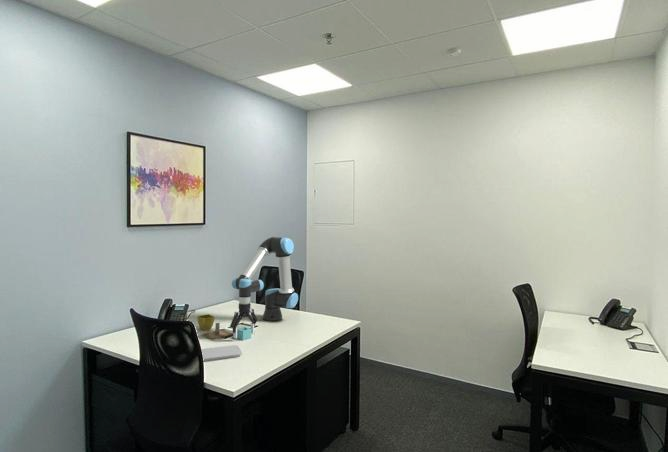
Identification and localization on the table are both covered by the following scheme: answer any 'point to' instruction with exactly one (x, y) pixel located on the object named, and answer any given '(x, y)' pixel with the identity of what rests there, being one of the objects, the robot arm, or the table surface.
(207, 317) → the flower pot
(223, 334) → the post stand
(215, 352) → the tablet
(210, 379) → the table surface
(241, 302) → the robot arm
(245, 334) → the light blue cube
